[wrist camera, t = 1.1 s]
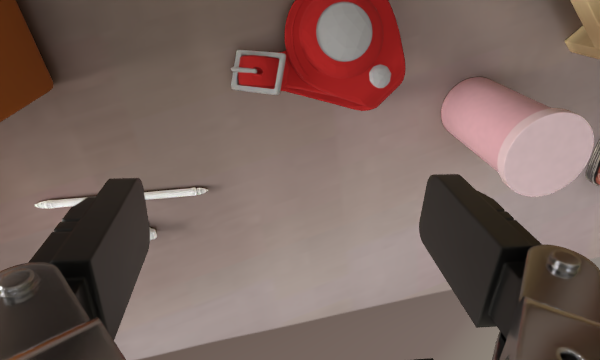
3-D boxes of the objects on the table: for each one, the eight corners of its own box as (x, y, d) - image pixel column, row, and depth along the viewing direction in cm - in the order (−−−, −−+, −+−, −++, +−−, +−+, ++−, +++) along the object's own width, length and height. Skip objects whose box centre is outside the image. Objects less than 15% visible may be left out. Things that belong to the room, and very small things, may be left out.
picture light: (208, 184, 34) (205, 196, 33) (214, 227, 37) (213, 240, 35) (35, 199, 33) (22, 213, 31) (52, 242, 35) (41, 257, 33)
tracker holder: (345, -66, 26) (443, 51, 28) (331, -39, 30) (417, 60, 32) (212, 68, 26) (318, 176, 28) (217, 76, 31) (309, 168, 32)
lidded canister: (424, 108, 34) (487, 158, 25) (482, 57, 32) (571, 92, 23) (460, 152, 36) (529, 212, 27) (516, 107, 35) (608, 155, 26)
